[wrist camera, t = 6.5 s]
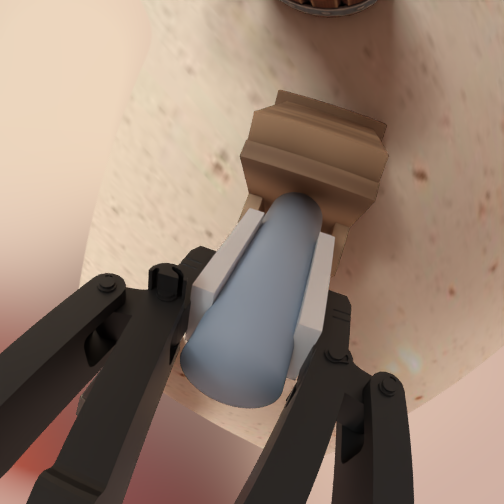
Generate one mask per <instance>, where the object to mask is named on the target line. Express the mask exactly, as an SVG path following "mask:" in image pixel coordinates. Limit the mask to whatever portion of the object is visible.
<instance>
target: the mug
mask: <svg viewBox="0 0 504 504" xmlns="http://www.w3.org/2000/svg"><path fill="white" fill-rule="evenodd" d="M280 1H282V2H284V3H285V4H287V5H288V6H290V7H292V8H294V9H296V10H299V11H301V12H304V13H308V14H313V15H316V16H322V17H339V16H345V15H352V14H355V13H358V12H361V11H363V10H365V9H367V8H368V7H369V6H371V5H373V4H374V3H375V2H376V1H377V0H280Z"/></svg>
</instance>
